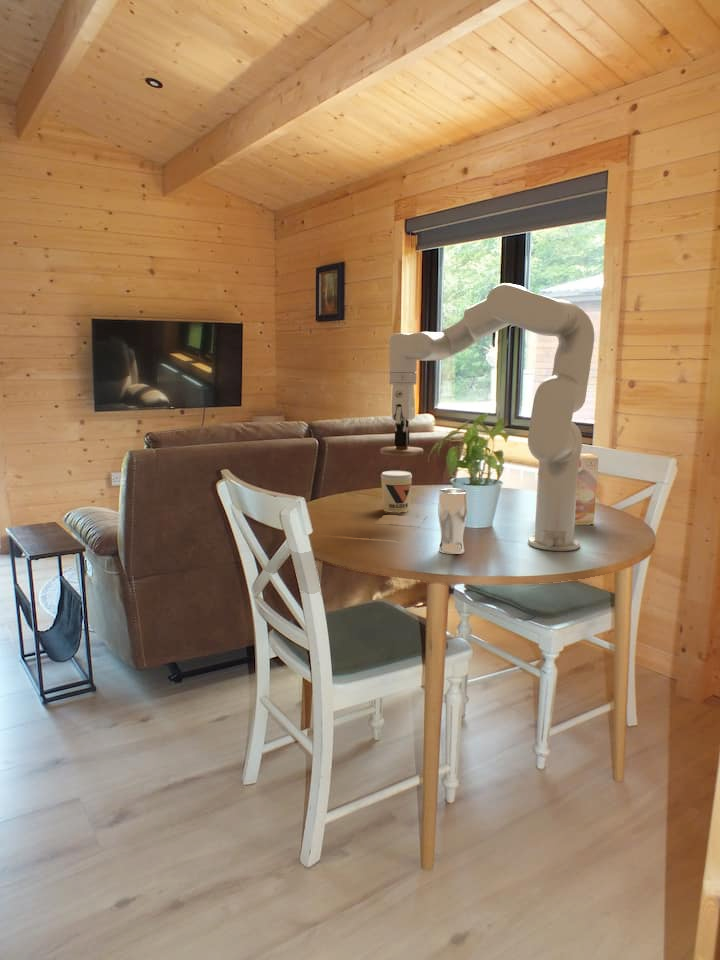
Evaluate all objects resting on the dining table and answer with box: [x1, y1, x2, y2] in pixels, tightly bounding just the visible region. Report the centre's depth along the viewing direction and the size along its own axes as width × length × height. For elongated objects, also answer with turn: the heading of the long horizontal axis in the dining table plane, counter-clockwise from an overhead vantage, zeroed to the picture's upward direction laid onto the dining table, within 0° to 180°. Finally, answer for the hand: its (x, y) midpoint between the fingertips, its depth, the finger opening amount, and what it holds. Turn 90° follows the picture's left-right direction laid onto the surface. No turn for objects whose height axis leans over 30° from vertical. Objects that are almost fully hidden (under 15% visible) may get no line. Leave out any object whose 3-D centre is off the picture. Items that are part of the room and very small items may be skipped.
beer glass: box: [437, 487, 468, 555], centre depth 171 cm, size 7×7×15 cm
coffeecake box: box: [538, 453, 599, 526], centre depth 201 cm, size 15×7×20 cm, turn 91°
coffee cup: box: [380, 470, 413, 512], centre depth 213 cm, size 9×9×12 cm
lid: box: [379, 427, 424, 457], centre depth 198 cm, size 12×12×7 cm
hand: (401, 444), depth 198 cm, fingers closed on lid, 3 cm apart
